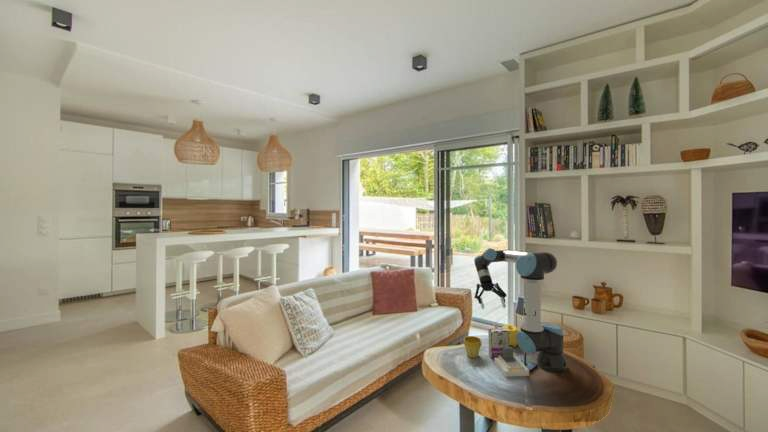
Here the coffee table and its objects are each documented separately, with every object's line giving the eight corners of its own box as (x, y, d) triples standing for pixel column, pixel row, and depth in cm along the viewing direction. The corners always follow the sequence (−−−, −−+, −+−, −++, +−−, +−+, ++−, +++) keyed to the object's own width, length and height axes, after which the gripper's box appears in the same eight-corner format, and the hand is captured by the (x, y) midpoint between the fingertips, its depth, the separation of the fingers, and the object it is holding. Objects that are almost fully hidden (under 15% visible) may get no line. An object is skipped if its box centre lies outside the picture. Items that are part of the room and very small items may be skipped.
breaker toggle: (511, 357, 187) (511, 345, 187) (514, 361, 183) (514, 349, 183) (501, 358, 187) (501, 346, 187) (504, 361, 183) (504, 349, 183)
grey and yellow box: (493, 337, 224) (493, 319, 224) (525, 342, 215) (525, 323, 215) (491, 345, 212) (490, 326, 211) (524, 350, 203) (524, 331, 203)
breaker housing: (516, 362, 189) (516, 354, 189) (529, 375, 174) (529, 367, 174) (494, 362, 189) (494, 355, 188) (505, 376, 174) (505, 368, 173)
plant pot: (479, 351, 204) (478, 335, 203) (483, 359, 193) (483, 342, 193) (462, 351, 204) (462, 335, 204) (466, 359, 194) (465, 343, 193)
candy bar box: (505, 354, 199) (505, 327, 199) (509, 357, 194) (509, 330, 194) (488, 355, 198) (488, 328, 198) (491, 359, 193) (491, 331, 193)
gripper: (501, 280, 219) (511, 309, 205) (465, 281, 217) (472, 311, 203) (505, 274, 213) (515, 304, 199) (467, 275, 211) (475, 305, 197)
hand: (494, 307), depth 201 cm, fingers open, 13 cm apart
